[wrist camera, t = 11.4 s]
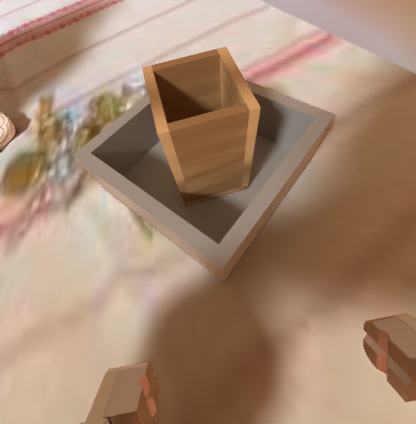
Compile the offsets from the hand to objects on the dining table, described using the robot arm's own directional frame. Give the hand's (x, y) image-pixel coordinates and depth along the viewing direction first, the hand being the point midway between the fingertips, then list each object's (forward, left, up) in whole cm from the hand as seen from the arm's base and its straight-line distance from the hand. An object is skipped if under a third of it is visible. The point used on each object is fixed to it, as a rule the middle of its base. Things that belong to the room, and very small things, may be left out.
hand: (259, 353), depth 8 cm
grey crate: (+9, +10, -7) cm, 15 cm away
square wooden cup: (+9, +10, -6) cm, 15 cm away
